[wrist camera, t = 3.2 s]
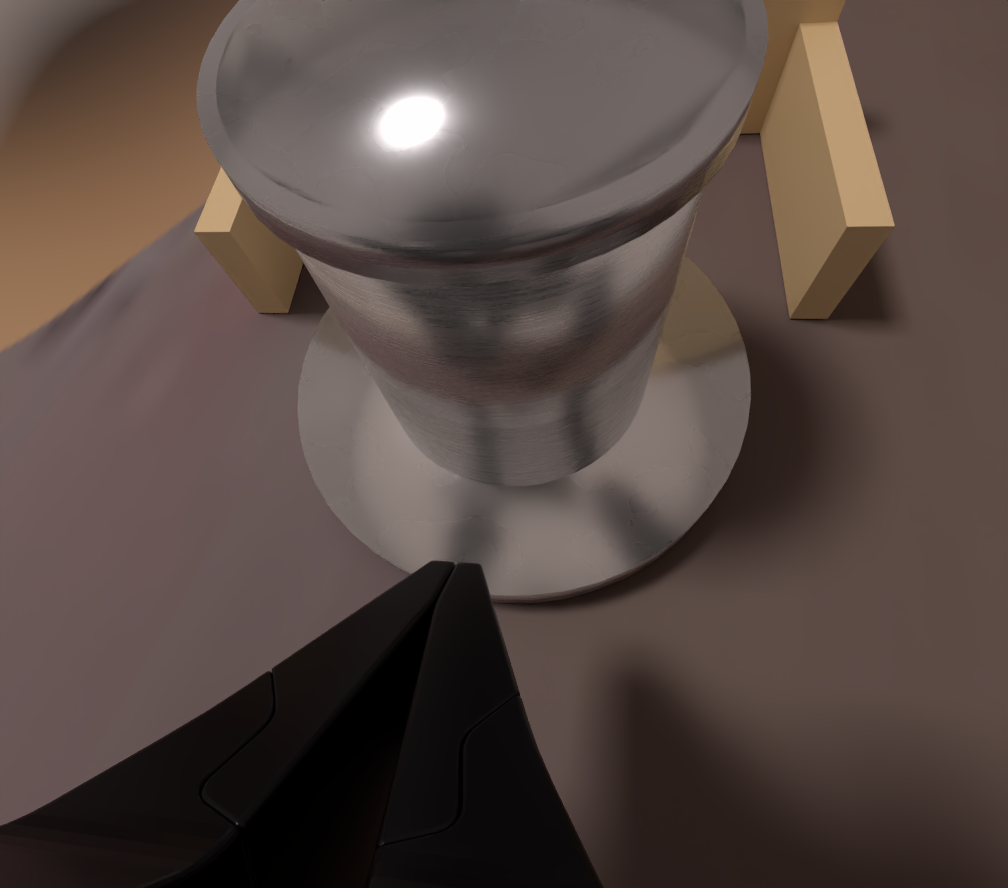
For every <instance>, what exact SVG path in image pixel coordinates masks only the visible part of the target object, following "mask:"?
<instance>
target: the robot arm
mask: <svg viewBox="0 0 1008 888" xmlns="http://www.w3.org/2000/svg"><path fill="white" fill-rule="evenodd" d="M0 888H603V886H602V884H601V882H600V880H599V878H598V876H597V874H596V872H595V869H594V867H593V865H592V863H591V861H590V859H589V857H588V855H587V853H586V851H585V849H584V847H583V845H582V842H581V840H580V838H579V836H578V834H577V832H576V830H575V828H574V826H573V824H572V822H571V820H570V817H569V815H568V813H567V811H566V809H565V807H564V805H563V803H562V801H561V799H560V797H559V795H558V793H557V790H556V788H555V786H554V784H553V782H552V780H551V777H550V775H549V773H548V770H547V768H546V766H545V764H544V761H543V759H542V757H541V754H540V752H539V750H538V747H537V744H536V741H535V738H534V736H533V733H532V730H531V727H530V724H529V721H528V718H527V715H526V712H525V708H524V705H523V702H522V699H521V697H520V693H519V689H518V686H517V683H516V679H515V676H514V672H513V669H512V666H511V662H510V659H509V656H508V652H507V649H506V646H505V642H504V639H503V636H502V632H501V629H500V625H499V622H498V619H497V615H496V612H495V609H494V605H493V602H492V599H491V595H490V592H489V588H488V585H487V582H486V578H485V575H484V572H483V568H482V566H481V565H480V564H478V563H465V562H459V563H457V564H455V563H454V562H451V561H437V560H432V561H430V562H428V563H427V564H425V565H424V566H422V567H421V568H419V569H418V570H416V571H415V572H413V573H412V574H410V575H409V576H408V577H406V578H405V579H403V580H402V581H400V582H399V583H397V584H396V585H394V586H393V587H391V588H390V589H388V590H387V591H385V592H384V593H382V594H381V595H380V596H378V597H377V598H375V599H374V600H372V601H371V602H369V603H368V604H366V605H365V606H363V607H362V608H360V609H359V610H357V611H356V612H354V613H353V614H351V615H350V616H349V617H347V618H346V619H344V620H343V621H341V622H340V623H338V624H337V625H335V626H334V627H332V628H331V629H329V630H328V631H326V632H325V633H323V634H322V635H321V636H319V637H318V638H316V639H315V640H313V641H312V642H310V643H309V644H307V645H306V646H304V647H303V648H301V649H300V650H298V651H297V652H295V653H294V654H292V655H291V656H290V657H288V658H287V659H285V660H284V661H282V662H281V663H279V664H278V665H276V666H275V667H273V668H272V673H271V672H270V671H267V672H266V673H264V674H263V675H261V676H260V677H258V678H257V679H255V680H254V681H252V682H251V683H249V684H248V685H246V686H245V687H243V688H242V689H240V690H239V691H237V692H236V693H234V694H233V695H231V696H230V697H228V698H226V699H225V700H223V701H222V702H220V703H219V704H217V705H216V706H214V707H213V708H211V709H210V710H208V711H206V712H205V713H203V714H201V715H200V716H198V717H196V718H195V719H193V720H191V721H190V722H188V723H186V724H185V725H183V726H181V727H180V728H178V729H176V730H175V731H173V732H171V733H170V734H168V735H166V736H164V737H163V738H161V739H159V740H158V741H156V742H154V743H152V744H151V745H149V746H147V747H145V748H144V749H142V750H140V751H138V752H137V753H135V754H133V755H132V756H130V757H128V758H126V759H125V760H123V761H121V762H119V763H118V764H116V765H114V766H112V767H111V768H109V769H107V770H106V771H104V772H102V773H100V774H99V775H97V776H95V777H93V778H92V779H90V780H88V781H86V782H85V783H83V784H81V785H80V786H78V787H76V788H74V789H73V790H71V791H69V792H67V793H66V794H64V795H62V796H61V797H59V798H57V799H55V800H54V801H52V802H50V803H48V804H46V805H44V806H42V807H41V808H39V809H37V810H35V811H33V812H31V813H29V814H27V815H25V816H23V817H21V818H18V819H16V820H14V821H12V822H9V823H7V824H4V825H1V826H0Z"/></svg>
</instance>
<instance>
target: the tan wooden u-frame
mask: <svg viewBox="0 0 1008 888" xmlns="http://www.w3.org/2000/svg"><path fill="white" fill-rule="evenodd" d="M845 1H846V0H763V2H764V5H765V8H766V11H767V22H768V35H769V36H768V43H767V49H766V56H765V62H764V65H763V68H762V71H761V74H760V77H759V80H758V83H757V86H756V89H755V92H754V95H753V98H752V101H751V104H750V107H749V110H748V113H747V116H746V119H745V122H744V124H743V127H742V130H741V132H740V134H748V133H760V136H761V143H762V149H763V155H764V161H765V168H766V174H767V180H768V186H769V192H770V199H771V205H772V211H773V217H774V224H775V230H776V236H777V242H778V249H779V255H780V261H781V267H782V274H783V280H784V286H785V292H786V298H787V305H788V311H789V317H790V319H828V317H829V316H830V315H831V313H832V312H833V311H834V309H835V308H836V306H837V305H838V304H839V302H840V301H841V300H842V298H843V297H844V295H845V294H846V293H847V291H848V290H849V289H850V287H851V286H852V284H853V283H854V282H855V280H856V279H857V278H858V276H859V275H860V273H861V272H862V271H863V269H864V268H865V267H866V265H867V264H868V262H869V261H870V260H871V258H872V257H873V256H874V254H875V253H876V251H877V250H878V249H879V247H880V246H881V244H882V243H883V242H884V240H885V239H886V238H887V236H888V235H889V233H890V232H891V231H892V229H893V228H894V227H895V225H894V222H893V218H892V214H891V211H890V207H889V204H888V200H887V197H886V193H885V190H884V186H883V183H882V179H881V175H880V172H879V168H878V165H877V161H876V158H875V154H874V151H873V147H872V144H871V140H870V136H869V133H868V129H867V126H866V122H865V119H864V115H863V112H862V108H861V104H860V101H859V97H858V94H857V90H856V87H855V83H854V80H853V76H852V73H851V69H850V65H849V62H848V58H847V55H846V51H845V48H844V44H843V41H842V37H841V33H840V30H839V26H838V23H837V21H838V18H839V16H840V13H841V11H842V9H843V6H844V4H845ZM194 233H195V234H196V235H197V237H198V238H199V239H200V240H201V242H202V243H203V244H204V245H205V247H206V248H207V249H208V250H209V252H210V253H211V254H212V255H213V257H214V258H215V259H216V260H217V262H218V263H219V264H220V265H221V267H222V268H223V269H224V270H225V272H226V273H227V274H228V275H229V277H230V278H231V279H232V280H233V282H234V283H235V284H236V285H237V287H238V288H239V289H240V290H241V292H242V293H243V294H244V295H245V297H246V298H247V299H248V300H249V302H250V303H251V304H252V305H253V307H254V308H255V309H256V310H257V312H258V313H288V312H289V309H290V305H291V302H292V299H293V295H294V292H295V289H296V286H297V282H298V279H299V276H300V273H301V269H302V266H303V261H302V260H301V258H300V256H299V254H298V253H297V251H296V249H295V248H293V247H292V246H290V245H289V244H287V243H286V242H284V241H283V240H281V239H280V238H278V237H277V236H276V235H275V234H273V233H272V232H271V231H270V230H269V229H268V228H267V227H266V226H265V225H264V224H262V223H261V222H260V221H259V220H258V219H257V218H256V216H255V215H254V214H253V212H252V211H251V210H250V208H249V207H248V206H247V204H246V203H245V202H244V200H243V199H242V198H241V196H240V195H239V193H238V192H237V190H236V188H235V187H234V185H233V184H232V182H231V181H230V179H229V178H228V176H227V174H226V173H225V171H224V170H223V168H222V167H221V169H220V172H219V174H218V177H217V179H216V181H215V184H214V186H213V188H212V191H211V193H210V195H209V198H208V200H207V202H206V205H205V207H204V209H203V212H202V214H201V216H200V219H199V221H198V223H197V226H196V228H195V231H194Z"/></svg>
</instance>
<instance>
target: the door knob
mask: <svg viewBox="0 0 1008 888" xmlns="http://www.w3.org/2000/svg"><path fill="white" fill-rule="evenodd" d="M768 36H769V35H768V22H767V11H766V8H765V5H764V2H763V0H240V1H238V3H237V4H236V5H235V6H234V8H233V9H232V10H231V11H230V13H229V14H228V15H227V16H226V18H225V19H224V20H223V21H222V23H221V25H220V26H219V28H218V30H217V31H216V33H215V35H214V36H213V38H212V40H211V41H210V43H209V46H208V48H207V51H206V53H205V56H204V58H203V61H202V64H201V68H200V73H199V78H198V83H197V111H198V116H199V120H200V125H201V130H202V132H203V134H204V136H205V138H206V140H207V142H208V145H209V147H210V149H211V151H212V152H213V154H214V156H215V157H216V159H217V161H218V162H219V164H220V165H221V167H222V168H223V170H224V171H225V173H226V174H227V176H228V178H229V179H230V181H231V182H232V184H233V185H234V187H235V188H236V190H237V192H238V193H239V195H240V196H241V198H242V199H243V200H244V202H245V203H246V204H247V206H248V207H249V208H250V210H251V211H252V212H253V214H254V215H255V216H256V218H257V219H258V220H259V221H260V222H261V223H262V224H264V225H265V226H266V227H267V228H268V229H269V230H270V231H271V232H272V233H273V234H275V235H276V236H277V237H278V238H280V239H281V240H283V241H284V242H286V243H287V244H289V245H290V246H292V247H293V248H295V249H296V251H297V253H298V254H299V256H300V258H301V260H302V261H303V263H304V265H305V266H306V268H307V270H308V271H309V273H310V275H311V276H312V278H313V280H314V281H315V283H316V285H317V286H318V288H319V290H320V291H321V293H322V295H323V296H324V298H325V300H326V301H327V303H328V305H329V306H330V307H329V308H328V310H327V311H326V313H325V314H324V316H323V317H322V319H321V321H320V323H319V325H318V327H317V329H316V331H315V333H314V335H313V337H312V340H311V342H310V345H309V348H308V351H307V354H306V357H305V359H304V363H303V368H302V373H301V378H300V383H299V392H298V409H297V411H298V422H299V433H300V439H301V443H302V447H303V451H304V455H305V459H306V462H307V465H308V467H309V469H310V472H311V474H312V476H313V479H314V481H315V484H316V486H317V487H318V489H319V491H320V492H321V494H322V496H323V497H324V499H325V500H326V502H327V504H328V505H329V507H330V509H331V510H332V511H333V512H334V513H335V515H336V516H337V517H338V518H339V519H340V520H341V522H342V523H343V524H344V525H345V526H346V527H347V529H348V530H349V531H350V532H351V533H352V534H354V535H355V536H356V537H357V538H358V539H359V540H360V541H362V542H363V543H364V544H365V545H366V546H367V547H369V548H370V549H371V550H372V551H373V552H375V553H376V554H377V555H379V556H380V557H381V558H383V559H384V560H385V561H387V562H388V563H390V564H391V565H393V566H395V567H396V568H398V569H399V570H401V571H403V572H404V573H406V574H407V575H410V574H412V573H413V572H415V571H416V570H418V569H419V568H421V567H422V566H424V565H425V564H427V563H428V562H430V561H432V560H437V561H451V562H454V563H455V564H457V563H459V562H465V563H478V564H480V565H481V566H482V568H483V572H484V575H485V578H486V582H487V585H488V588H489V592H490V595H491V599H492V602H497V603H539V602H546V601H554V600H562V599H567V598H571V597H575V596H578V595H582V594H586V593H590V592H593V591H597V590H599V589H602V588H604V587H606V586H609V585H611V584H613V583H616V582H618V581H620V580H623V579H625V578H627V577H629V576H630V575H632V574H634V573H635V572H637V571H639V570H640V569H642V568H644V567H646V566H647V565H649V564H651V563H652V562H654V561H655V560H656V559H657V558H659V557H660V556H661V555H662V554H664V553H665V552H666V551H667V550H668V549H670V548H671V547H672V546H673V545H675V544H676V543H677V542H678V541H679V540H680V539H681V538H682V537H683V536H684V534H685V533H686V532H687V531H688V530H689V529H690V528H691V527H692V526H693V525H694V524H695V523H696V521H697V520H698V519H699V518H700V517H701V515H702V514H703V513H704V512H705V511H706V509H707V508H708V507H709V506H710V504H711V503H712V501H713V500H714V498H715V497H716V495H717V494H718V492H719V491H720V490H721V488H722V487H723V485H724V484H725V482H726V481H727V479H728V477H729V475H730V472H731V470H732V468H733V466H734V464H735V462H736V460H737V458H738V455H739V453H740V450H741V446H742V443H743V440H744V436H745V433H746V429H747V426H748V418H749V410H750V401H751V387H750V369H749V364H748V359H747V354H746V349H745V345H744V342H743V339H742V336H741V334H740V331H739V328H738V325H737V323H736V320H735V319H734V317H733V315H732V313H731V311H730V309H729V308H728V306H727V304H726V302H725V300H724V298H723V297H722V296H721V294H720V293H719V292H718V290H717V289H716V288H715V286H714V285H713V284H712V282H711V281H710V280H709V278H708V277H707V276H706V275H705V274H704V273H703V272H702V271H701V270H700V269H699V268H698V267H697V266H696V265H695V264H694V263H693V262H692V261H691V260H690V259H689V258H687V257H686V256H685V252H686V248H687V245H688V242H689V238H690V235H691V231H692V228H693V224H694V221H695V217H696V214H697V211H698V207H699V204H700V200H701V197H702V193H703V190H704V187H705V186H706V185H707V184H708V183H709V181H710V180H711V179H712V178H713V177H714V176H715V174H716V173H717V172H718V171H719V170H720V169H721V167H722V166H723V164H724V162H725V161H726V159H727V158H728V156H729V154H730V153H731V151H732V149H733V148H734V146H735V144H736V143H737V140H738V138H739V135H740V132H741V130H742V127H743V124H744V122H745V119H746V116H747V113H748V110H749V107H750V104H751V101H752V98H753V95H754V92H755V89H756V86H757V83H758V80H759V77H760V74H761V71H762V68H763V65H764V62H765V56H766V49H767V43H768Z"/></svg>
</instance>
